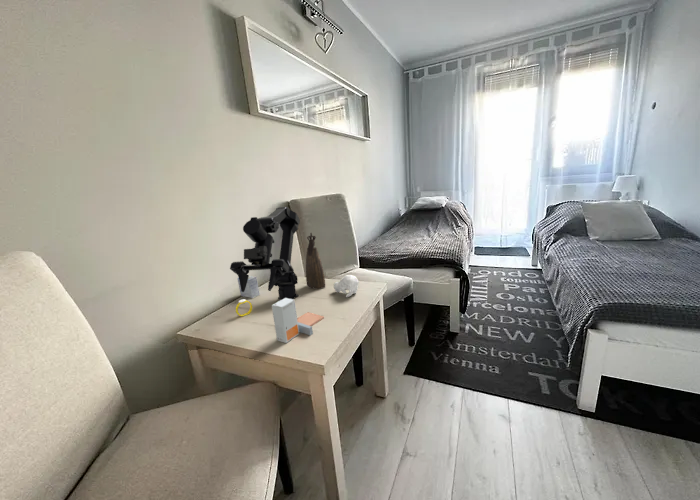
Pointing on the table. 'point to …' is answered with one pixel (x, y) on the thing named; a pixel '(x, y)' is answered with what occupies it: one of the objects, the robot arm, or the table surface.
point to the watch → (242, 303)
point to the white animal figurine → (347, 285)
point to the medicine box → (250, 287)
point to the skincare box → (285, 320)
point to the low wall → (305, 329)
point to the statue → (314, 266)
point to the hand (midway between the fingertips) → (255, 291)
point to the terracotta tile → (309, 319)
